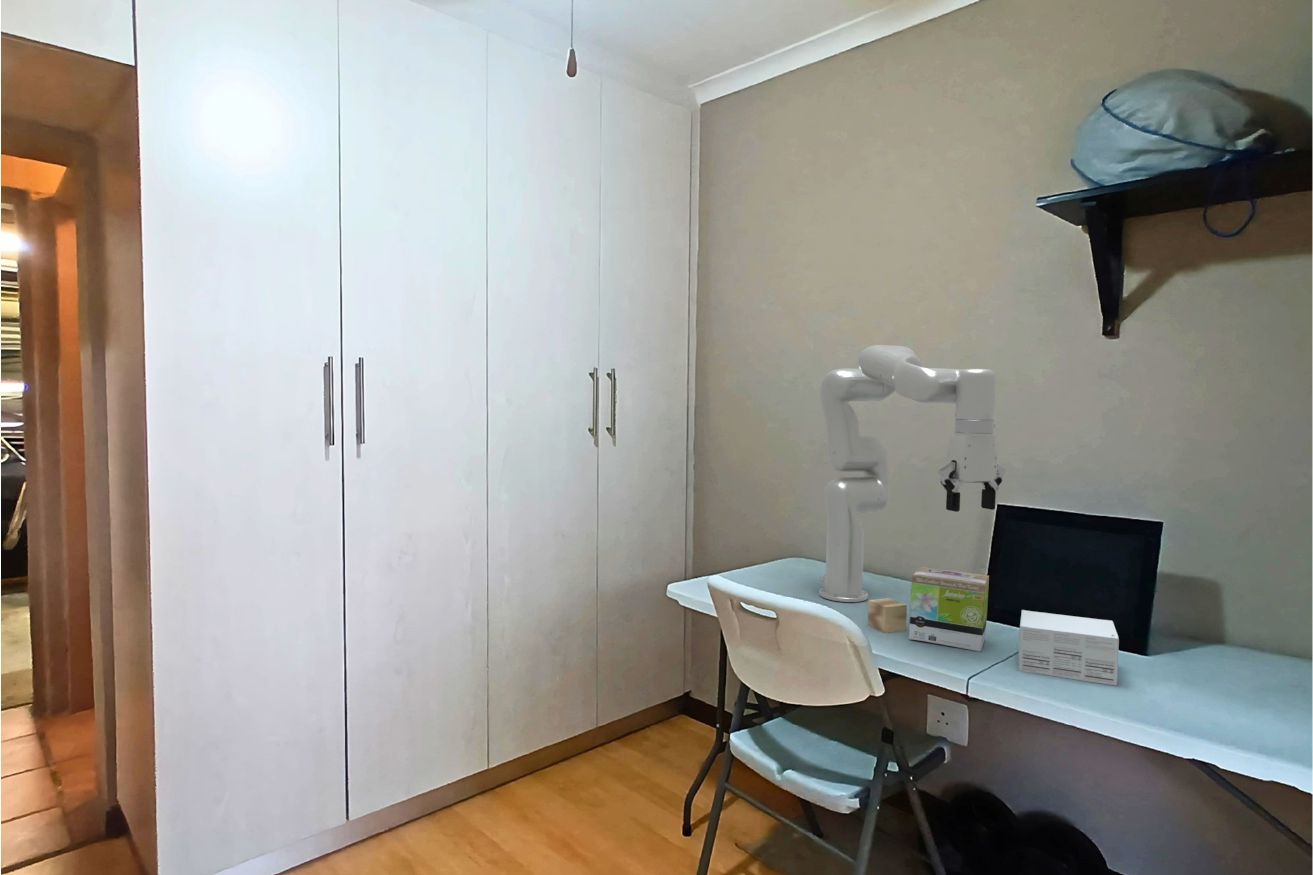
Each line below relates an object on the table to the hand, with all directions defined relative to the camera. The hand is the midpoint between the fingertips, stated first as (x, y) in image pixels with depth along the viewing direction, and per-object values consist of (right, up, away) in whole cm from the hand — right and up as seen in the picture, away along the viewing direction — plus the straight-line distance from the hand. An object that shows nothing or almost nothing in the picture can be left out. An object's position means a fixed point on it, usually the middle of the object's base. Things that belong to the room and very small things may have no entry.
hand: (970, 509), depth 161 cm
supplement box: (+15, -31, -9) cm, 36 cm away
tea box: (-2, -30, +7) cm, 31 cm away
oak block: (-13, -29, +15) cm, 35 cm away
